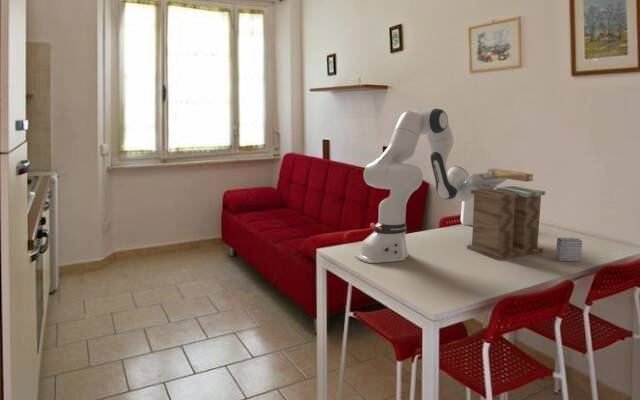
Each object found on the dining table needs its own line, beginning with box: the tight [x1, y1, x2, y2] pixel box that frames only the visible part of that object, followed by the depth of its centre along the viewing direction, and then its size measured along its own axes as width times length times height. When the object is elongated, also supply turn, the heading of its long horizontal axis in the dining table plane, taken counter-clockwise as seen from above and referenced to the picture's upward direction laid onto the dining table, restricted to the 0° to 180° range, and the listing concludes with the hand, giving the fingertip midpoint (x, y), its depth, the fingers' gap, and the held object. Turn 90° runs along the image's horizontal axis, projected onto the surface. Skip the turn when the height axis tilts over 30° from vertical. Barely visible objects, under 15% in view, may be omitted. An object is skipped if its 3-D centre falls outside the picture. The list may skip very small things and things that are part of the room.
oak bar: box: [487, 168, 534, 182], centre depth 206 cm, size 4×22×3 cm, turn 22°
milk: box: [460, 197, 474, 226], centre depth 253 cm, size 12×12×26 cm
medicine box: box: [555, 237, 583, 262], centre depth 189 cm, size 8×4×9 cm, turn 84°
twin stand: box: [466, 185, 546, 261], centre depth 202 cm, size 25×18×26 cm
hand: (497, 171), depth 213 cm, fingers closed on oak bar, 4 cm apart
